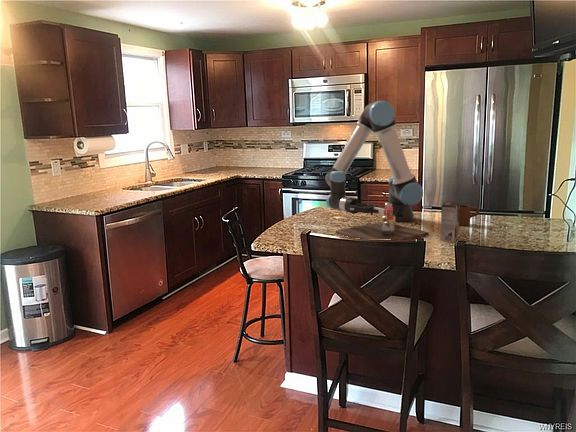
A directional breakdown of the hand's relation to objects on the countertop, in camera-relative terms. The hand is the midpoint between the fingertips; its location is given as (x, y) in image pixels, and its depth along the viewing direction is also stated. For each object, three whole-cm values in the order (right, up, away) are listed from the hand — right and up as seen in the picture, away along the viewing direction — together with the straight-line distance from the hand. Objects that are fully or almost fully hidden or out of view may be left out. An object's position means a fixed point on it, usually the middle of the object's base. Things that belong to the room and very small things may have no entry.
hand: (384, 212), depth 205 cm
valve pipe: (+5, -10, +16) cm, 19 cm away
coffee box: (+29, -12, +2) cm, 32 cm away
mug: (+47, -6, +28) cm, 55 cm away
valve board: (+1, -10, +14) cm, 17 cm away
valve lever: (+3, -1, +5) cm, 6 cm away
